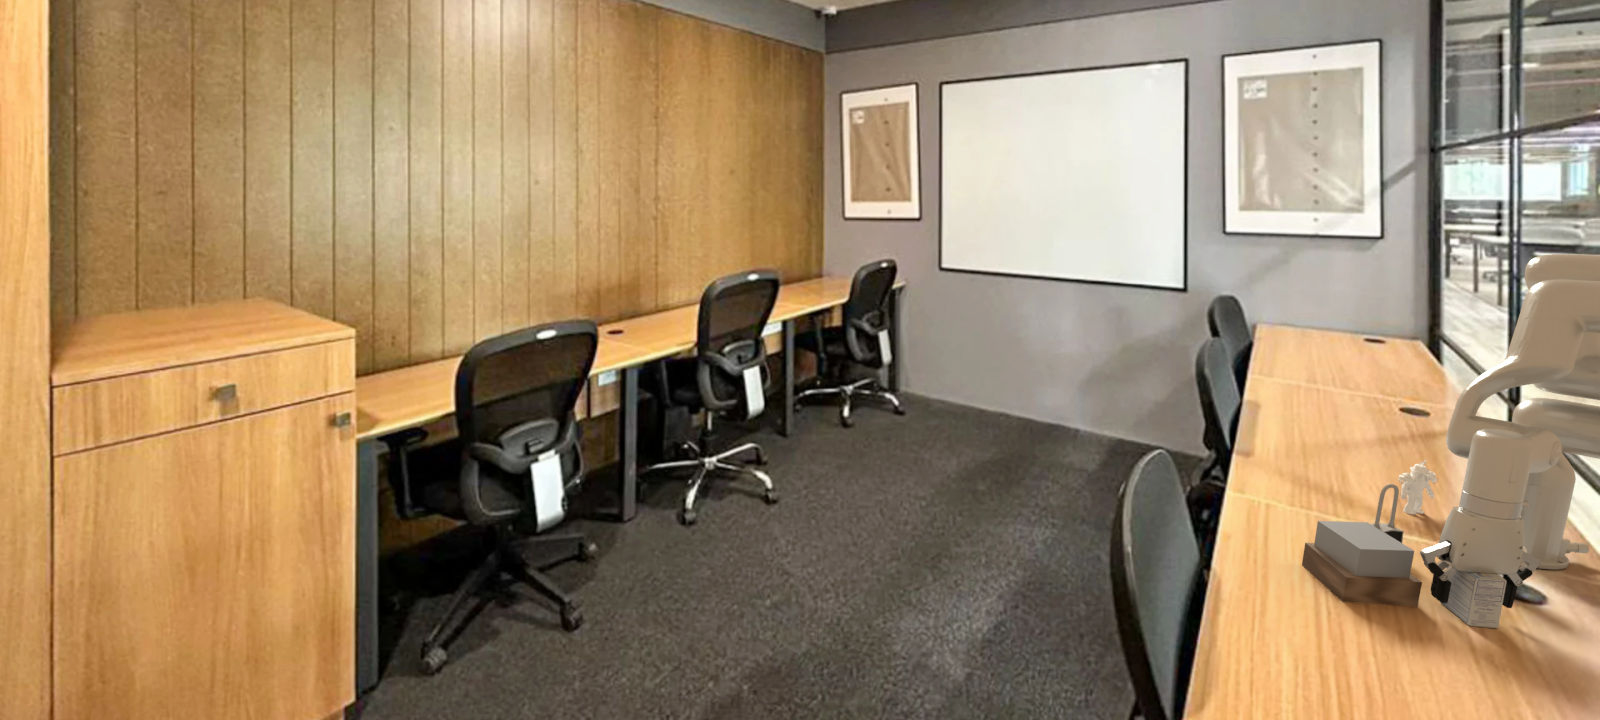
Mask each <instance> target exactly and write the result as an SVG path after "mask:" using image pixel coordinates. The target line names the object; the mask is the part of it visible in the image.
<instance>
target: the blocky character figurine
mask: <svg viewBox="0 0 1600 720" xmlns="http://www.w3.org/2000/svg"><path fill="white" fill-rule="evenodd" d="M1427 460H1428V459H1427V458H1426V459H1424V460H1423V461H1420V462H1419V463H1416V464H1414V466H1409V470H1410V472H1404V473H1403V472H1402V474H1399V475H1398V481H1399V483H1400V484H1401V491H1400V492H1401V493H1400V498H1401V499H1402V500H1407V502H1406V504H1405V506H1404V508H1403V510H1402V512H1404V513H1406V514H1408V515H1411V516H1416V515H1417V514H1419V515H1420V514H1421V515H1424V513H1425V511H1424V510H1422V507H1423V502H1424V496H1423V495H1424V489H1425V490H1426V493H1427V496H1429V498H1430V499H1434V498H1435V492H1434V491H1433V488H1432V486H1431V485H1430V481H1431V483H1432V484H1436V483H1437V482H1438V479H1439V478H1437V477H1436V476H1437V474H1436V472H1435V471H1432V470H1429V469H1428V468H1427V467H1426V466H1425V465H1426V464H1427Z"/></svg>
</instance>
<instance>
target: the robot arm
mask: <svg viewBox="0 0 1600 720" xmlns="http://www.w3.org/2000/svg"><path fill="white" fill-rule="evenodd" d="M1524 281H1525V284H1526V287H1527V289H1528V290H1527V293H1526V295H1525V297H1524V300H1523V303H1522V306H1521V309H1520V313H1519V316H1518V318H1517V323H1516V325H1515V328H1514V331H1513V334H1512V337H1511V340H1510V344H1509V347H1508V350H1507V354H1506V356H1505V358H1504V360H1503V361H1502V362H1500V363H1499V364H1497V365H1495V366H1493V367H1491V368H1489V369H1487V370H1486V371H1484V372H1483V373H1481V374H1479V375H1478V376H1477V377H1476V378H1474V379H1473V380H1472V381H1471V382H1469V384H1468V385H1466V387H1465V388H1464V389H1463V391H1462V392H1461V393H1460V395H1459V397H1458V399H1457V401H1456V403H1455V406H1454V409H1453V413H1452V415H1451V417H1450V418H1451V419H1450V421H1449V424H1448V427H1447V431H1446V439H1445V440H1446V441H1445V444H1446V446H1447V448H1448V450H1449V452H1450V453H1452V454H1454V455H1455V456H1457V457H1459V458H1463V459H1466V460H1467V464H1466V470H1465V474H1464V478H1463V479H1464V480H1463V485H1462V490H1461V495H1460V500H1459V505H1458V506H1453V507H1452V509H1451V510H1450V512H1449V514H1448V516H1447V517H1446V520H1445V523H1444V525H1443V527H1442V531H1441V534H1440V538H1439V542H1438V543H1437V544H1435V545H1433V546H1429V547H1426V548H1424V549H1421V550H1420V551H1419V554H1420V556H1421V559H1422V561H1423V564H1424V565H1423V566H1425V567H1426V568H1427V569H1428V570H1429V573H1431V574H1432V580H1431V585H1430V595H1431V596H1432V597H1433V598H1435V599H1436V600H1437V601H1439V602H1440V604H1442V603H1447V602H1448V598H1449V593H1450V588H1451V582H1450V581H1449V580H1448V579H1449V578H1450V577H1452V576H1453V575H1454V574H1456V573H1457V572H1458V571H1461V572H1473V573H1491V574H1501V575H1502V576H1503V578H1504V579H1505V580H1506V581H1507V582H1506V588H1505V593H1504V598H1503V604H1502V606H1504V607H1505V608H1506V609H1513V605H1514V601H1515V599H1516V595H1517V590H1518V587H1520V586H1523V584H1524V581H1525V580H1526V579H1529V578H1530V577H1531V576H1533V572H1534V571H1536V569H1542V570H1563V569H1566V568H1568V567H1569V564H1570V560H1569V558H1568V557H1567V556H1566V554H1571V553H1575V554H1576V553H1577V554H1588V553H1589V550H1590V548H1589V545H1588V544H1587V543H1584V542H1571V541H1570V538H1569V539H1568V538H1564V534H1565V530H1566V525H1567V521H1568V515H1569V511H1570V507H1571V503H1572V499H1573V493H1574V490H1575V487H1576V486H1575V485H1576V479H1577V478H1576V472H1575V470H1574V468H1573V466H1572V464H1571V463H1570V461H1569V460H1568V459H1567V458H1566V456H1565V455H1564V454H1573V455H1577V456H1582V457H1588V458H1592V459H1599V460H1600V405H1594V404H1593V405H1592V404H1586V403H1583V402H1577V401H1570V400H1561V399H1556V398H1549V397H1548V398H1547V397H1533V398H1532V397H1531V398H1527V399H1525V400H1522V401H1520V403H1518V404H1517V405H1516V406H1515V408H1514V410H1513V413H1512V418H1511V421H1509V420H1508V421H1507V420H1502V419H1497V418H1491V417H1485V416H1481V415H1480V416H1479V415H1477V413H1478V410H1479V409H1480V407H1481V405H1482V404H1483V403H1484V402H1485V400H1487V399H1489V398H1490V397H1491V396H1493V395H1495V394H1498V393H1500V392H1503V391H1505V390H1510V389H1512V388H1517V387H1523V386H1527V385H1529V386H1530V385H1534V387H1536V388H1537V389H1539V390H1541V391H1543V392H1548V393H1552V394H1557V395H1560V396H1561V395H1563V396H1568V397H1576V398H1583V399H1589V400H1595V401H1600V255H1594V254H1593V255H1591V254H1571V253H1567V254H1566V253H1559V254H1558V253H1557V254H1553V253H1552V254H1543V255H1537V256H1536V257H1533V258H1532V259H1530V260H1529V261H1528V262H1527V264H1526V266H1525V270H1524ZM1523 546H1524V547H1525V548H1526V549H1527V553H1526V552H1524V551H1523ZM1436 558H1437V559H1439V560H1440V561H1438V562H1436ZM1522 559H1523V561H1524V562H1523V563H1522V566H1520V564H1521V560H1522ZM1448 566H1449V567H1448ZM1447 567H1448V568H1447Z"/></svg>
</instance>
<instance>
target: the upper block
mask: <svg viewBox="0 0 1600 720" xmlns="http://www.w3.org/2000/svg"><path fill="white" fill-rule="evenodd" d="M1371 524H1372V523H1369V522H1366V521H1365V522H1364V521H1337V520H1336V521H1334V520H1333V521H1331V520H1330V521H1329V520H1317V525H1316V531H1315V536H1314V542H1313V543H1314V546H1315V547H1316V548H1318V549H1319V550H1320V551H1322V552H1323V553H1325V554H1326V555H1327V556H1329V557H1330V558H1331V559H1333V560H1334V561H1336V562H1337V563H1338V564H1340V565H1341V566H1343V567H1344V568H1345V569H1347V570H1348V571H1349V572H1351V573H1352V574H1354V575H1355V576H1369V577H1399V578H1409V577H1410V574H1411V571H1412V564H1413V560H1414V555H1415V550H1414V549H1412V548H1411V547H1409V546H1408V545H1405V544H1404V543H1403V542H1402V543H1401V542H1399V541H1397V540H1396V539H1394V538H1392V537H1391V536H1389V535H1387V534H1386V533H1384V532H1383V531H1381V530H1379V529H1378V528H1376V527H1374V526H1373V525H1371Z"/></svg>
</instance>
